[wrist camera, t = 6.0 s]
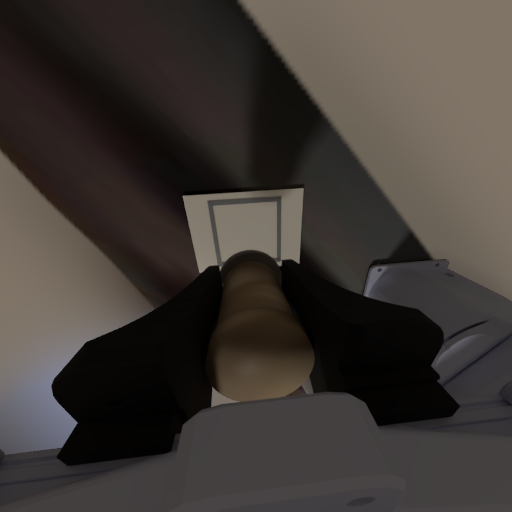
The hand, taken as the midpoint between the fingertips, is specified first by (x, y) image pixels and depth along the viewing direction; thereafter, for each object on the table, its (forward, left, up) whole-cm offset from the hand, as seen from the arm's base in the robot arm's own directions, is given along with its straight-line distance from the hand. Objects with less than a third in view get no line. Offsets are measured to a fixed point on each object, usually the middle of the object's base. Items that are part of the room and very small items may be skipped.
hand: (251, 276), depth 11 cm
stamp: (0, +1, -1) cm, 2 cm away
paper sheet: (0, 0, -8) cm, 8 cm away
